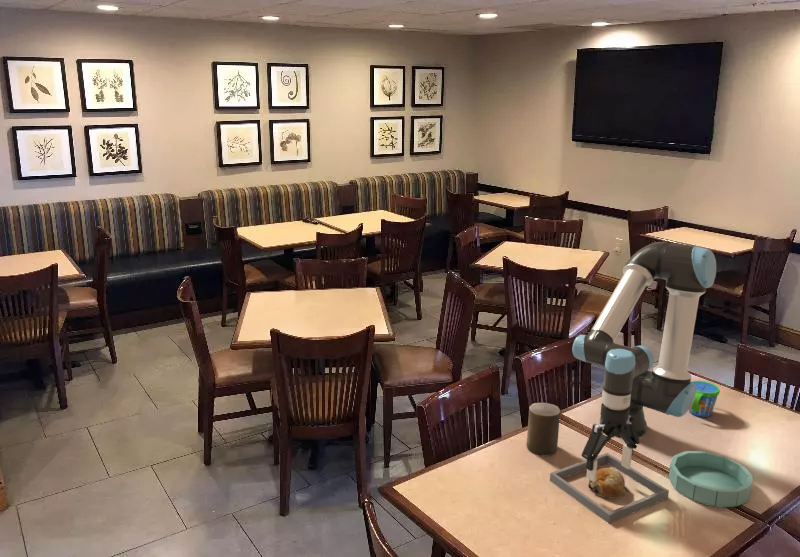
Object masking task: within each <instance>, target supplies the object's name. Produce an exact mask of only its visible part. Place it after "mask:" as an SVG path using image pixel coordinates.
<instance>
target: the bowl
mask: <svg viewBox="0 0 800 557" xmlns="http://www.w3.org/2000/svg"><path fill="white" fill-rule="evenodd" d="M753 478H754V475H753V474H752V473H751V472H750V471H749V470H748V469H747V468H746V466H745V465H743V464H742V463H739V462H738V461H736V460H734V459H733V458H730V457H728V456H726V455H723V454H719V453H714V452H710V451H706V450H685V451H683V452H680V453H677V454H675V455H673V456H672V458H671V461H670V466H669V472H668V480H669V481H670V483H671V486H673V488H674V489H675V490H676V491H677V492H679V493H680V495H682V496H684V497H685V498H688V499H689V500H691V501H694V502H696V503H699V504H703V505H706V506H711V507H717V508H735V507H738V506H742V505H744V504H746V503H747V501H749V500H750V497H751V491H752V484H753Z"/></svg>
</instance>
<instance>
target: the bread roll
mask: <svg viewBox="0 0 800 557" xmlns="http://www.w3.org/2000/svg"><path fill="white" fill-rule="evenodd" d="M625 485H626V482H625V477H624V476H623V475H622V472H621V471H619V470H616V468H615V467H611V468H609V467H604V468H600V469H597V471H596V481H595V482H593V481H591V480H590V479H588V489H591V492H593V493H594V494H595V495H597V496H599V497H603V498H606V499H616V498H617V499H618V498H621V497H622V496H625V495H626V490H625V489H626V486H625Z"/></svg>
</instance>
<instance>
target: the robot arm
mask: <svg viewBox="0 0 800 557" xmlns="http://www.w3.org/2000/svg"><path fill="white" fill-rule="evenodd" d="M622 274H623V275H622V277H621V278H620V280H619V281H618V283H617V285H616V286H615V289H614V290H613V292H612V294H611V295H610V297H609V299H608V300H607V302H606V304H605V306H603V309H602V311H601V312H600V314H599V316H598V317H597V319H596V321H595V323H594V324H593V326H592V327H591V330H590V331H589V333H588V334H579V335H578V336H576V337H575V339H574V341H573V342H572V343H573V344H572V354H573V357H574V358H576V359H577V360H580V361H582V362H585V363H589V364H593V365H597V366H600V367H603V368H604V374H603V375H604V376H603V386H602V394H601V406H600V418H599V424H596V423H594V424H593V425H592V428H591V432H590V434H589V437H588V439H587V441H586V443H585V446H584V448H583V450H582V452H581V454H580V455H581V457H582V458H583V459H585V460H587V465H586V468H587V470H586V478H587V479H588V480H589V479H590V480H591V481H593V482H595V481H596V471H597V470H598V466H597V461H598V460H596V458H597V456H600V455H599V454H600V452H602V450H603V448H604V447H605V446H606V444H607V442H609V441H611V439H613V438H614V437H620V438H621V439H622V441H623V442H624V444H623V445H622V453H621V460H620V461H621V466H623V467H625V468H626V469H630V467H631V463H632V457H633V455H634V454H633V452H634V450H637V448H638V445H639V444H640V442H641V441H640V438H639V437H642V436H644V435H645V434H646V433H647V426H648V425H647V421H646V417H645V411H644V408H646V409H651V410H654V411H657V412H659V413H663V414H665V415H667V416H673V417H676V418H681V417H683V416H685V415H686V414H687V412H688V411H689V408H690V406H691V405H692V402H693V400H694V397H695V394H696V385H695V384H694V383H691V381H692V374H691V373H690V372H689V371H688V368H689V363H690V362H689V361H690V354H691V351H692V350H691V348H692V344H693V337H694V336H693V335H694V330H695V325H696V320H697V313H698V307H699V301H700V297H701V296H702V295H704V294H705V293H706V292H707V289H709V288H711V287H712V286H713V284H714V282H715V279H716V275H717V259H716V257H715V254H714V253H713V251H712V250H711V249H709V248H705V247H701V246H698V245H689V244H681V243H672V242H668V241H657V242H652V243H650V244H648V245H646V246H644V247H642V248H640V249H639V250H637V251H636V252H635V253H634V254H633V255H632V256H631V257H630V258H629V259H628V260H627V262H625V264H624V266H623V268H622ZM655 279H660V280H665V288H666V290H667V292H669V294H668V301H667V308H666V314H665V321H664V327H663V333H662V340H661V346H660V351H659V357H658V358H659V359H658V363H657V365H655V366H654V367H653V365H654V362H655V356H654V354H653V352H652V351H651V349H650V348H648V347H647V346H644V345H635V346H632V347H630V346H626V345H624V344H623V345H622V344H619V343H615V341H616V339H617V337H618V335H619V333H620V332H621V330H622V328H623V326H624V325H625V323H626V321H627V320H628V318H629V316H630V315H631V313H632V310H634V308H635V305H636V304H637V302H638V300H639V299H640V297H641V296H642V293H643V292H644V290H645V288H646V287H648V286H650V285H651V284H652V283H653V281H654V280H655ZM652 367H653V368H652ZM651 368H652V370H650V369H651Z"/></svg>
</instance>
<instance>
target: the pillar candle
mask: <svg viewBox="0 0 800 557" xmlns="http://www.w3.org/2000/svg"><path fill="white" fill-rule="evenodd" d="M560 417H561V409H560V408H559V406H557V405H555V404H552V403H550V402H549V403H547V402H535V403H532V404H531V405H529V409H528V421H527V422H528V423H527V431H526V432H527V434H526V435H527V436H526V448H527V450H528V451H529V452H531V453H532V452H533V454H535V455H537V456H538V455H539V456H546V455H547V456H550V455H551V456H552V455H554V454H556V453H557V451H558V444H559V443H558V441H559V431H560V430H559V428H560V421H561V420H560Z"/></svg>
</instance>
